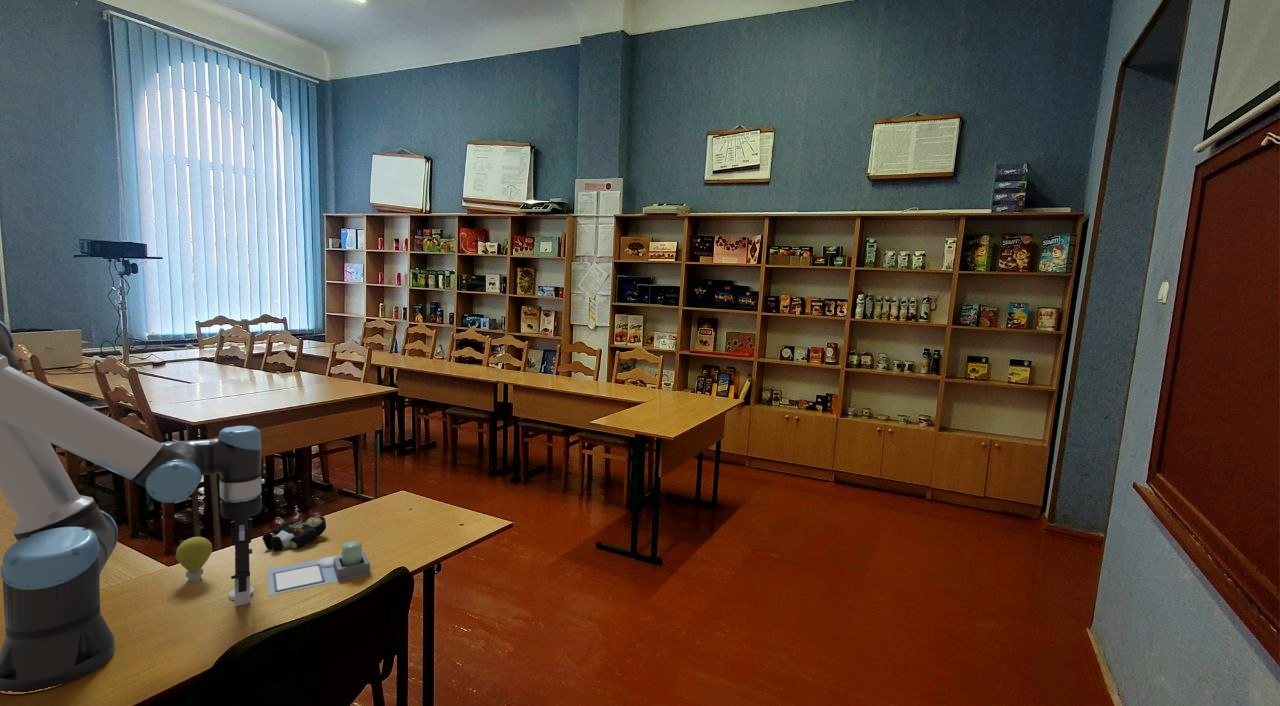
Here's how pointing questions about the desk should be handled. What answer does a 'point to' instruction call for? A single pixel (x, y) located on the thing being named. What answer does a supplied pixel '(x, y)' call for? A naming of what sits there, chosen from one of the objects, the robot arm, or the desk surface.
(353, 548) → the button
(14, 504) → the robot arm
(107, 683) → the desk surface
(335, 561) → the board
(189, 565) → the light bulb
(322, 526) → the toy
